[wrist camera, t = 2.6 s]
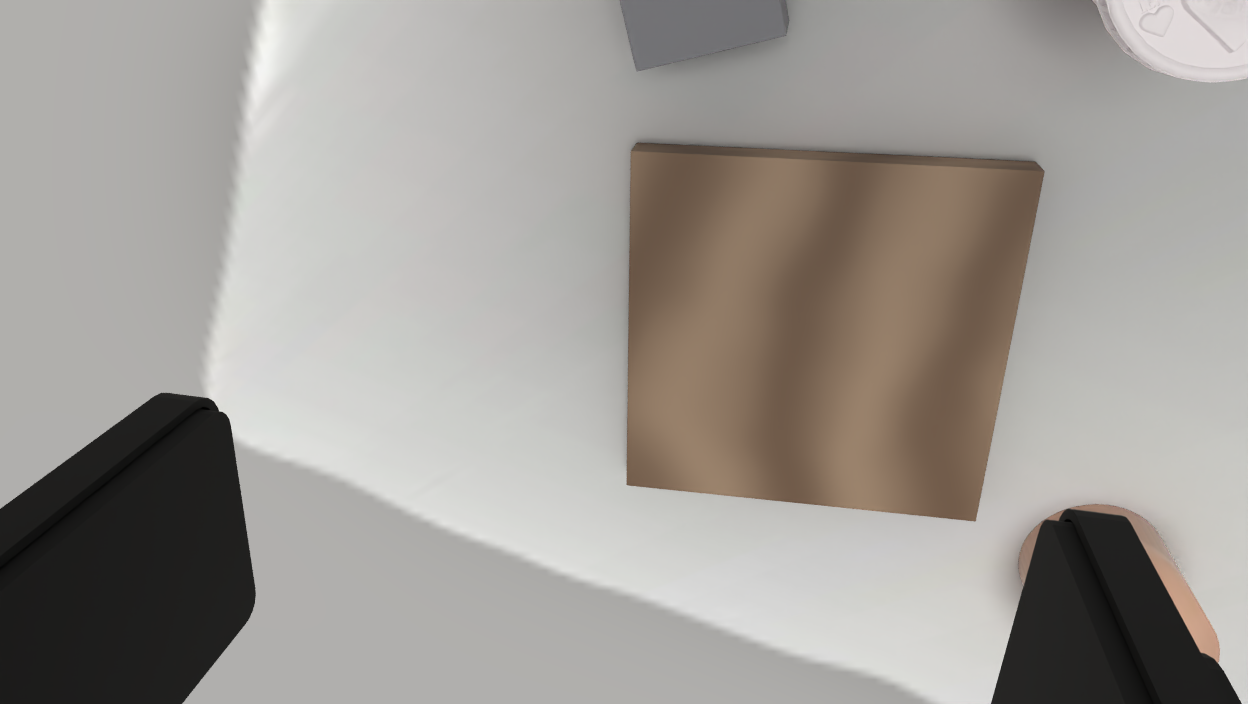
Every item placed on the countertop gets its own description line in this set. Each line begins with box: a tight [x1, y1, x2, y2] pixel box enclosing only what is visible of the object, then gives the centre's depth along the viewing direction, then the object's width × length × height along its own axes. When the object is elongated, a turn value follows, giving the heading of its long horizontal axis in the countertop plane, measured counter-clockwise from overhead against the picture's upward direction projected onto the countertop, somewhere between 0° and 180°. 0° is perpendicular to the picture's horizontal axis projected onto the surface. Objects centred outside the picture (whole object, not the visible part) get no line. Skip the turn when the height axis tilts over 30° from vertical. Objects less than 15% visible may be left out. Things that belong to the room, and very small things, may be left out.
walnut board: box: [627, 143, 1044, 521], centre depth 39 cm, size 15×15×2 cm
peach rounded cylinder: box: [1018, 504, 1220, 663], centre depth 39 cm, size 6×6×6 cm
